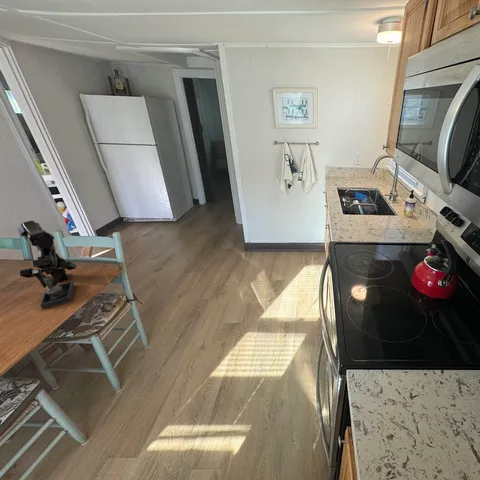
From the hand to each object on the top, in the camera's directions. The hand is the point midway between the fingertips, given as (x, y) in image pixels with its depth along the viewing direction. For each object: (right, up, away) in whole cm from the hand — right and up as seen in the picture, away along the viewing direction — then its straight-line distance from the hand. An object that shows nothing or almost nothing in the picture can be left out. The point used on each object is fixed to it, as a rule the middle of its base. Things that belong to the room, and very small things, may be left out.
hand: (50, 286), depth 125 cm
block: (-5, -4, +7) cm, 10 cm away
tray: (0, -6, +5) cm, 8 cm away
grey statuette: (-1, -5, +4) cm, 7 cm away
